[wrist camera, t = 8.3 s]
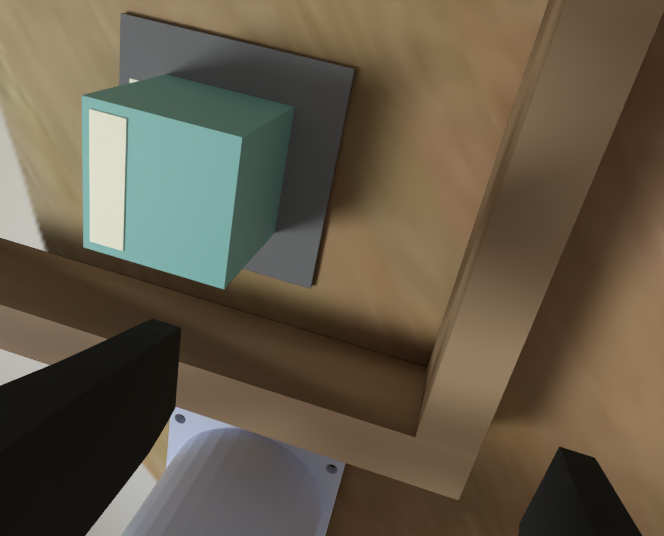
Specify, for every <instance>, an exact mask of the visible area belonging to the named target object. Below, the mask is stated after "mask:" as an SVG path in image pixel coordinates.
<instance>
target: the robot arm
mask: <svg viewBox="0 0 664 536" xmlns="http://www.w3.org/2000/svg"><path fill="white" fill-rule="evenodd" d="M180 340H181V327H178V326H175V325H171V324H168V323H165V322H162V321H159V320H156V319H150V320H148V321H146V322H143V323H141V324H139V325H137V326H135V327H132V328H130V329H128V330H126V331H124V332H122V333H120V334H117V335H115V336H113V337H111V338H109V339H107V340H105V341H103V342H101V343H98V344H96V345H94V346H92V347H90V348H88V349H85V350H83V351H81V352H79V353H77V354H74V355H72V356H70V357H68V358H66V359H63V360H61V361H59V362H57V363H55V364H52V365H50V366H48V367H45V368H43V369H40V370H38V371H35V372H33V373H31V374H28V375H25V376H23V377H21V378H18V379H16V380H13V381H11V382H8V383H6V384H3V385H1V386H0V536H85V535H86V534H87V533H88V531H89V530H90V528H91V527H92V526H93V525H94V524H95V522H96V521H97V520H98V518H99V517H100V516H101V515H102V513H103V512H104V510H105V509H106V508H107V507H108V506H109V504H110V503H111V502H112V500H113V499H114V498H115V497H116V495H117V494H118V493H119V491H120V490H121V489H122V488H123V486H124V485H125V484H126V482H127V481H128V480H129V478H130V477H131V476H132V475H133V473H134V472H135V471H136V469H137V468H138V466H139V465H140V464H141V463H142V461H143V460H144V459H145V457H146V456H147V455H148V453H149V452H150V450H151V449H152V447H153V445H154V444H155V442H156V441H157V439H158V437H159V436H160V434H161V432H162V431H163V429H164V427H165V425H166V424H167V422H168V420H169V418H170V425H169V438H168V451H167V463H166V470H165V472H164V473H163V475H162V476H161V478H160V479H159V480H158V482H157V483H156V485H155V487H154V488H153V489H152V491H151V492H150V494H149V495H148V497H147V498H146V500H145V501H144V503H143V504H142V506H141V507H140V508H139V510H138V511H137V513H136V514H135V516H134V518H133V519H132V520H131V522H130V523H129V525H128V526H127V528H126V529H125V531H124V532H123V533H122V535H121V536H326V532H327V528H328V525H329V521H330V518H331V514H332V510H333V507H334V503H335V500H336V496H337V492H338V489H339V485H340V482H341V478H342V474H343V471H344V467H345V463H344V462H341V461H338V460H335V459H332V458H329V457H326V456H323V455H320V454H317V453H314V452H311V451H308V450H305V449H302V448H299V447H296V446H293V445H290V444H287V443H284V442H281V441H278V440H275V439H272V438H269V437H266V436H263V435H260V434H257V433H254V432H251V431H248V430H244V429H241V428H238V427H235V426H232V425H229V424H226V423H223V422H220V421H217V420H214V419H211V418H208V417H205V416H202V415H199V414H196V413H193V412H190V411H187V410H184V409H181V408H178V407H176V393H177V380H178V367H179V354H180ZM180 414H181V415H183V416H184V417H185V418H184V417H182V416H181V415H180ZM329 464H331V465H334V466H336V467H332V466H330V465H329ZM519 536H642V535H641V533H640V531H639V530H638V528H637V526H636V525H635V523H634V522H633V520H632V518H631V517H630V515H629V513H628V512H627V510H626V508H625V507H624V505H623V503H622V502H621V500H620V498H619V497H618V495H617V493H616V492H615V490H614V488H613V487H612V485H611V483H610V482H609V480H608V478H607V477H606V475H605V473H604V472H603V470H602V469H601V467H600V465H599V464H598V462H597V461H596V459H595V458H594V457H590V456H587V455H584V454H581V453H578V452H575V451H571V450H568V449H565V448H562V447H559V448H558V450H557V452H556V454H555V456H554V458H553V460H552V462H551V464H550V466H549V468H548V470H547V472H546V474H545V476H544V477H543V479H542V481H541V483H540V485H539V487H538V489H537V491H536V493H535V495H534V497H533V499H532V501H531V503H530V505H529V507H528V509H527V510H526V512H525V514H524V516H523V518H522V520H521V522H520V528H519Z"/></svg>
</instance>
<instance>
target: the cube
mask: <svg viewBox="0 0 664 536" xmlns="http://www.w3.org/2000/svg"><path fill="white" fill-rule="evenodd" d="M294 108H295V107H293V106H289V105H285V104H281V103H277V102H273V101H269V100H265V99H261V98H257V97H253V96H249V95H246V94H242V93H238V92H234V91H230V90H226V89H222V88H218V87H214V86H210V85H206V84H202V83H198V82H194V81H190V80H186V79H182V78H178V77H174V76H170V75H166V74H165V75H161V76H157V77H153V78H149V79H145V80H141V81H137V82H133V83H129V84H125V85H121V86H117V87H113V88H109V89H105V90H101V91H97V92H93V93H89V94H85V95H82V163H83V247H84V248H87V249H91V250H94V251H97V252H101V253H104V254H107V255H111V256H114V257H117V258H121V259H124V260H127V261H131V262H134V263H137V264H141V265H144V266H147V267H151V268H154V269H157V270H161V271H164V272H167V273H171V274H174V275H177V276H181V277H184V278H187V279H191V280H194V281H197V282H201V283H204V284H207V285H211V286H214V287H217V288H221V289H225V288H226V287H227V286H228V284H229V283H230V282H231V281H232V280H233V279H234V278H235V277H236V276H237V274H238V273H239V272H240V271H241V270H242V269H243V268H244V267H245V265H246V264H247V263H248V262H249V261H250V260H251V259H252V258H253V257H254V255H255V254H256V253H257V252H258V251H259V250H260V249H261V248H262V247H263V245H264V244H265V243H266V242H267V241H268V240H269V239H270V238H271V236H272V235H273V234H274V233H275V228H276V222H277V215H278V209H279V203H280V196H281V190H282V184H283V177H284V171H285V165H286V159H287V152H288V146H289V140H290V133H291V127H292V121H293V114H294Z"/></svg>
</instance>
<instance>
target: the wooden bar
mask: <svg viewBox="0 0 664 536" xmlns="http://www.w3.org/2000/svg"><path fill="white" fill-rule="evenodd" d="M150 319H156V320H159V321H162V322H165V323H168V324H171V325H175V326H178V327H181V340H180V354H179V367H178V380H177V393H176V407H178V408H181V409H184V410H187V411H190V412H193V413H196V414H199V415H202V416H205V417H208V418H211V419H214V420H217V421H220V422H223V423H226V424H229V425H232V426H235V427H238V428H241V429H244V430H248V431H251V432H254V433H257V434H260V435H263V436H266V437H269V438H272V439H275V440H278V441H281V442H284V443H287V444H290V445H293V446H296V447H299V448H302V449H305V450H308V451H311V452H314V453H317V454H320V455H323V456H326V457H329V458H332V459H335V460H338V461H341V462H344V463H347V464H350V465H353V466H356V467H359V468H362V469H365V470H368V471H371V472H374V473H377V474H380V475H383V476H386V477H389V478H392V479H395V480H398V481H402V482H405V483H408V484H411V485H414V486H417V487H420V488H423V489H426V490H429V491H432V492H435V493H438V494H441V495H444V496H447V497H450V498H453V499H456V500H459V498H460V496H461V493H462V491H463V489H464V486H465V484H466V481H467V479H468V477H469V474H470V472H471V470H472V467H473V465H474V462H475V460H476V458H477V457H475V456H471V455H468V454H465V453H462V452H459V451H456V450H453V449H450V448H446V447H443V446H440V445H437V444H434V443H431V442H428V441H425V440H421V439H418V438H415V437H416V431H417V425H418V419H419V413H420V407H421V401H422V395H423V388H424V382H425V376H426V370H427V367H424V366H421V365H418V364H414V363H411V362H408V361H404V360H401V359H398V358H395V357H391V356H388V355H385V354H381V353H378V352H375V351H372V350H368V349H365V348H362V347H358V346H355V345H352V344H348V343H345V342H342V341H339V340H335V339H332V338H329V337H325V336H322V335H319V334H315V333H312V332H309V331H306V330H302V329H299V328H296V327H292V326H289V325H286V324H283V323H279V322H276V321H273V320H269V319H266V318H263V317H259V316H256V315H253V314H250V313H246V312H243V311H240V310H236V309H233V308H230V307H226V306H223V305H220V304H217V303H213V302H210V301H207V300H203V299H200V298H197V297H194V296H190V295H187V294H184V293H180V292H177V291H174V290H170V289H167V288H164V287H161V286H157V285H154V284H151V283H147V282H144V281H141V280H138V279H134V278H131V277H128V276H124V275H121V274H118V273H114V272H111V271H108V270H105V269H101V268H98V267H95V266H91V265H88V264H85V263H81V262H78V261H75V260H72V259H68V258H65V257H62V256H58V255H55V254H52V253H49V252H45V251H42V250H39V249H35V248H32V247H29V246H25V245H22V244H19V243H15V242H12V241H9V240H6V239H2V238H0V349H3V350H6V351H9V352H12V353H15V354H18V355H21V356H24V357H27V358H30V359H33V360H36V361H39V362H42V363H45V364H48V365H52V364H55V363H57V362H59V361H61V360H63V359H66V358H68V357H70V356H72V355H74V354H77V353H79V352H81V351H83V350H85V349H88V348H90V347H92V346H94V345H96V344H98V343H101V342H103V341H105V340H107V339H109V338H111V337H113V336H115V335H117V334H120V333H122V332H124V331H126V330H128V329H130V328H132V327H135V326H137V325H139V324H141V323H143V322H146V321H148V320H150Z"/></svg>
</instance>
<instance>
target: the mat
mask: <svg viewBox="0 0 664 536" xmlns="http://www.w3.org/2000/svg"><path fill="white" fill-rule="evenodd" d="M354 73H355V68H351V67H347V66H342V65H338V64H334V63H330V62H326V61H322V60H317V59H313V58H309V57H305V56H301V55H297V54H292V53H288V52H284V51H280V50H276V49H272V48H267V47H263V46H259V45H255V44H251V43H247V42H242V41H238V40H234V39H230V38H226V37H221V36H217V35H213V34H209V33H205V32H201V31H196V30H192V29H188V28H184V27H180V26H176V25H171V24H167V23H163V22H159V21H155V20H151V19H146V18H142V17H138V16H134V15H130V14H126V13H121V26H120V78H119V86H121V85H125V84H129V83H133V82H137V81H141V80H145V79H149V78H153V77H157V76H161V75H165V74H166V75H170V76H174V77H178V78H182V79H186V80H190V81H194V82H198V83H202V84H206V85H210V86H214V87H218V88H222V89H226V90H230V91H234V92H238V93H242V94H246V95H249V96H253V97H257V98H261V99H265V100H269V101H273V102H277V103H281V104H285V105H289V106H293V107H295V108H294V114H293V121H292V127H291V133H290V140H289V146H288V152H287V159H286V165H285V171H284V177H283V184H282V190H281V196H280V203H279V209H278V215H277V222H276V228H275V233H274V234H273V235H272V236H271V238H270V239H269V240H268V241H267V242H266V243H265V244H264V245H263V247H262V248H261V249H260V250H259V251H258V252H257V253H256V254H255V255H254V257H253V258H252V259H251V260H250V261H249V262H248V263H247V264H246V265H245V267H244V268H243V269H245V270H249V271H252V272H255V273H259V274H262V275H266V276H269V277H272V278H276V279H279V280H283V281H286V282H289V283H293V284H296V285H300V286H303V287H307V288H311V287H312V282H313V277H314V272H315V267H316V263H317V258H318V253H319V248H320V243H321V238H322V233H323V228H324V223H325V218H326V213H327V208H328V203H329V198H330V193H331V188H332V183H333V178H334V173H335V168H336V163H337V158H338V153H339V148H340V143H341V138H342V133H343V128H344V123H345V118H346V113H347V108H348V103H349V98H350V93H351V88H352V83H353V78H354Z"/></svg>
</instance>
